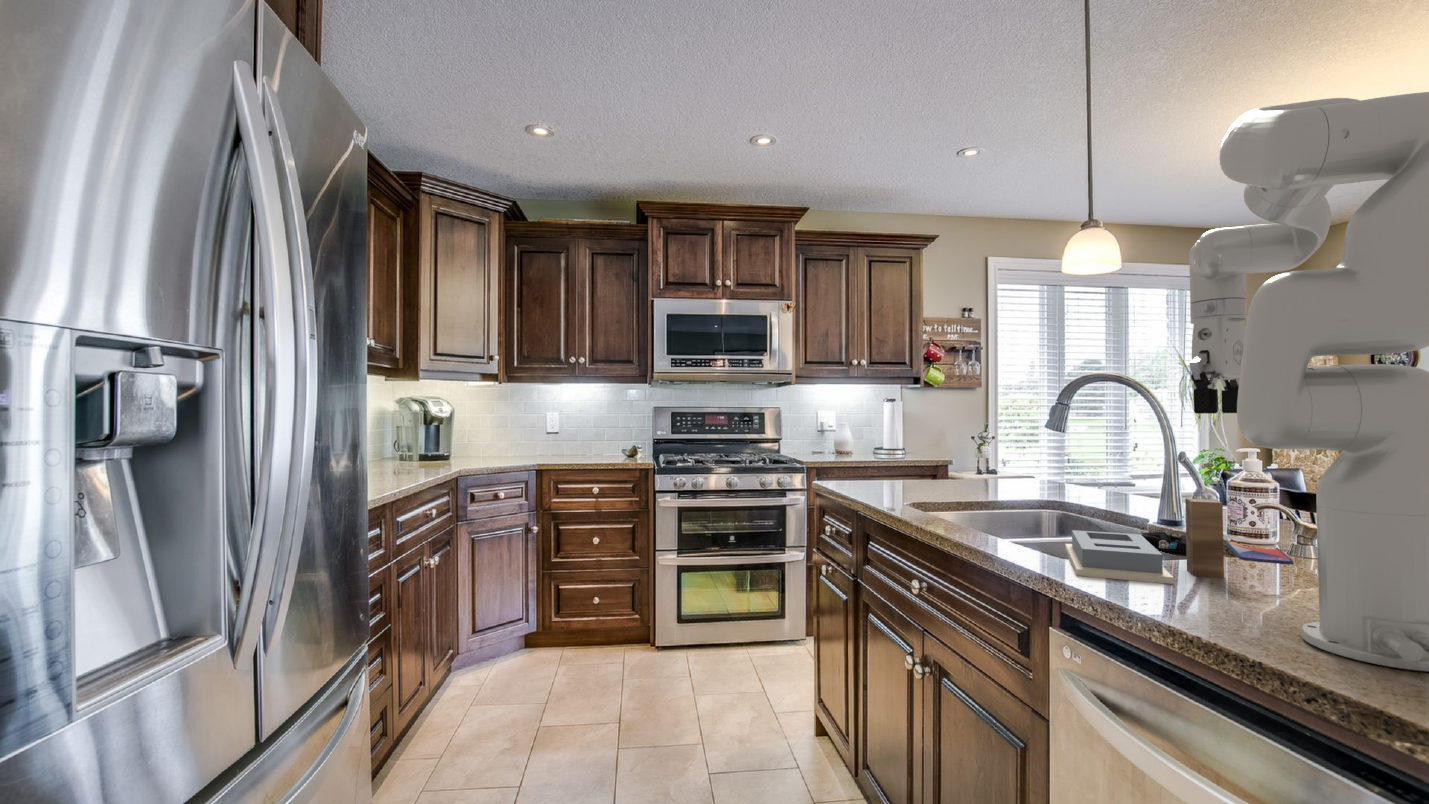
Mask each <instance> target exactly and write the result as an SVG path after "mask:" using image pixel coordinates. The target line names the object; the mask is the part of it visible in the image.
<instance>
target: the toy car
mask: <svg viewBox="0 0 1429 804" xmlns="http://www.w3.org/2000/svg"><path fill="white" fill-rule="evenodd" d="M1141 535H1142V536H1143V537H1144V538H1145V539H1146V540H1147V541H1148V542H1149V543H1150V544H1151V545H1152V546H1154V547H1155V548H1156V549H1157V550H1158V551H1164V552H1172V553H1180V554H1186V534H1184V535H1182V536H1181V537H1177V536H1173V535H1171V534H1170V535H1169V534H1167V533H1166V532H1165V531H1156V532H1155V531H1154V532H1150V531H1148V532H1143V533H1141Z"/></svg>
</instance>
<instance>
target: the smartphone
mask: <svg viewBox="0 0 1429 804" xmlns="http://www.w3.org/2000/svg"><path fill="white" fill-rule="evenodd" d="M1230 541H1231V540H1227V541H1225V546H1226V547H1227V548H1228V550H1230V551H1231V552H1232V553H1233V555H1235V556H1236V557H1237V558H1238V559H1239V560H1242V561H1243V560H1244V561H1249V560H1252V562H1264V563H1265V562H1268V563H1276V564H1285V565H1293V564H1294V560H1293V559H1292V558H1290V557H1289V556H1288V555H1287V554H1286V553H1284V552H1283V551H1282V550H1281V549H1280V548H1278V547H1277V548H1275V549H1264V548H1254V547H1248V546H1243V545H1240V544H1237V543H1233V542H1230Z"/></svg>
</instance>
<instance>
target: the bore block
mask: <svg viewBox="0 0 1429 804" xmlns="http://www.w3.org/2000/svg"><path fill="white" fill-rule="evenodd" d="M1071 541H1072V542H1071V543H1065V544H1064V545H1065V546H1064V547H1065V551H1066V553H1067V556H1068V558H1069V561H1070V562H1071V565H1072V568H1073V570H1074V572H1075V575H1076V576H1077V577H1078V576H1079V577H1080V576H1081V577H1088V578H1089V577H1092V578H1102V579H1103V578H1104V579H1113V580H1116V579H1117V580H1125V581H1137V582H1149V583H1160V584H1170V585H1172V584H1173V585H1174V583H1175V582H1174V580H1175V579H1174V576H1173V575H1172V574H1171V573H1170V572H1169V571H1168V570H1166V568H1165V567H1164V566H1163V553H1161V552H1160V550H1157V548H1155V547H1154V546H1152V545H1151V544H1150V543H1149V542H1148V541H1147V540H1146V539H1145V538H1144V537H1143V536H1142V533H1141V534H1140V533H1139V534H1137V533H1123V532H1121V533H1120V532H1107V531H1088V530H1076V529H1075V530H1074V529H1071Z"/></svg>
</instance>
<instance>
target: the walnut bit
mask: <svg viewBox="0 0 1429 804" xmlns="http://www.w3.org/2000/svg"><path fill="white" fill-rule="evenodd" d="M1184 500H1185V536H1186V537H1185V539H1186V553H1185V554H1186V571H1187V572H1188V573H1189V572H1190V573H1191V574H1190V573H1189V574H1190V575H1192V577H1200V576H1202V577H1204V578H1212V577H1213V578H1214V579H1225V567H1224V566H1225V564H1224V563H1225V562H1224V561H1225V558H1224V519H1223V518H1224V516H1223V514H1224V513H1223V512H1224V511H1223V510H1224V508H1223V504H1224V503H1223V502H1222V501H1219V500H1216V499H1211V498H1210V499H1208V498H1187V497H1186V498H1184ZM1202 577H1201V578H1202ZM1213 578H1212V579H1213Z"/></svg>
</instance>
